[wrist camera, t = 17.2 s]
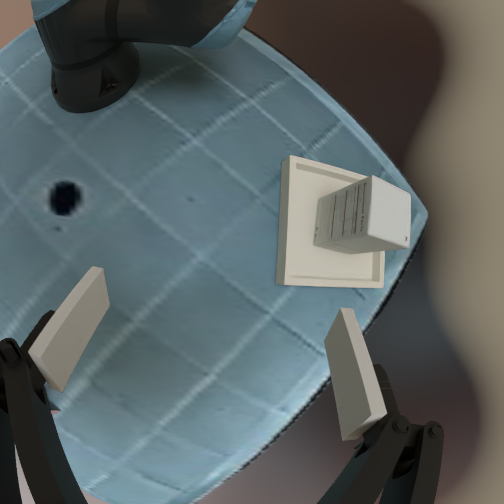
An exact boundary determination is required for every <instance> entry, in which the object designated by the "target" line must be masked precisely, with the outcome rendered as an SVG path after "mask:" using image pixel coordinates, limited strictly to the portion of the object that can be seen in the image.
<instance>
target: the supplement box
mask: <svg viewBox="0 0 504 504" xmlns="http://www.w3.org/2000/svg"><path fill="white" fill-rule="evenodd" d="M410 218H411V197H410V194H409V193H407V192H405V191H403V190H401V189H399V188H398V187H396V186H394V185H392V184H390V183H388V182H386V181H384V180H382V179H380V178H377V177H375V176H373V175H371V176H369V177H367V178H364V179H362V180H360V181H358V182H355V183H353V184H351V185H349V186H346V187H344V188H342V189H340V190H338V191H335V192H333V193H331V194H329V195H327V196H324V197H322V198H320V199H319V201H318V208H317V217H316V224H315V232H314V240H313V245H314V246H318V247H321V248H325V249H329V250H334V251H338V252H342V253H346V254H350V255H351V254H360V253H370V252H380V251H389V250H399V249H408V248H409V242H410Z"/></svg>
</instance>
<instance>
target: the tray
mask: <svg viewBox="0 0 504 504" xmlns="http://www.w3.org/2000/svg"><path fill="white" fill-rule="evenodd" d="M364 178H367V176H363V175H360V174H357V173H354V172H351V171H347V170H344V169H341V168H337V167H334V166H330V165H327V164H323V163H320V162H316V161H312V160H308V159H304V158H300V157H296V156H292V155H290V156H288V157H287V158H286V159H285V160H284V161H283V162H282V167H281V192H280V213H279V233H278V251H277V267H276V282H275V284H281V285H298V286H323V287H356V288H383V283H384V259H385V251H380V252H370V253H360V254H351V255H350V254H346V253H342V252H338V251H334V250H329V249H325V248H321V247H318V246H314V245H313V240H314V232H315V224H316V217H317V208H318V201H319V199H320V198H322V197H324V196H327V195H329V194H331V193H333V192H335V191H338V190H340V189H342V188H344V187H346V186H349V185H351V184H353V183H355V182H358V181H360V180H362V179H364Z"/></svg>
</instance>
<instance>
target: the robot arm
mask: <svg viewBox="0 0 504 504" xmlns="http://www.w3.org/2000/svg"><path fill="white" fill-rule="evenodd" d="M256 2H257V0H31V5H32V9H33V14H34V15H33V19H34V21H35V23H36V26H37V29H38V32H39V34H40V37H41V39H42V42H43V44H44V47H45V49H46V52H47V54H48V56H49V58H50V61H51V63H52V74H51V89H52V93H53V96H54V98H55V100H56V101H57V103H58V105H59V106H60V107H62V108H63V109H65V110H67V111H70V112H75V113H84V112H90V111H94V110H98V109H101V108H103V107H105V106H107V105H109V104H111V103H113V102H115V101H116V100H118V99H119V98H120V97H122V96H123V95H124V94H125V93H126V92H127V91H128V90H129V89H130V88H131V87H132V86H133V84H134V83H135V81H136V79H137V77H138V74H139V70H140V63H139V55H138V52H137V50H136V48H135V47H134V45H133V43H132V42H145V43H158V44H169V45H177V46H185V47H188V48H196V47H199V48H208V49H220V48H224V47H226V46H227V45H229V44H230V43H231V42H232V41H233V40H234V39H235V37H236V36H237V35H238V33H239V32H240V30H241V29H242V27H243V26H244V24H245V23H246V21H247V19H248V17H249V15H250V14H251V12H252V7H253V6H254V5H255V3H256ZM109 307H110V304H109V299H108V293H107V288H106V282H105V276H104V270H103V268H99V267H94V266H92V267H91V268H90V269H89V270H88V272H87V273H86V274H85V275H84V276H83V278H82V279H81V280H80V281H79V282H78V284H77V285H76V286H75V287H74V289H73V290H72V291H71V292H70V294H69V295H68V296H67V298H66V299H65V300H64V301H63V303H62V304H61V305H60V307H59V308H58V309H57V311H56V312H55V311H52V310H50V311H49V312H47V313H46V314H44V315H43V316H42V318H41V319H40V320H39V322H38V324H36V326H35V327H34V330H32V331H31V333H30V334H29V336H28V337H27V339H26V340H25V341H24V343H23V344H22V346H21V347H19V346H18V344H17V342H16V341H15V340H14V339H12V338H5V339H3V340H1V341H0V504H22V499H21V494H20V489H19V483H18V476H17V468H16V458H15V445H16V449H17V453H18V456H19V460H20V463H21V466H22V469H23V472H24V475H25V478H26V481H27V484H28V486H29V489H30V492H31V494H32V497H33V499H34V501H35V504H88V503H87V501H86V499H85V497H84V496H83V494H82V492H81V490H80V487H79V485H78V483H77V481H76V479H75V477H74V475H73V472H72V470H71V468H70V465H69V463H68V460H67V458H66V455H65V453H64V450H63V447H62V445H61V442H60V439H59V436H58V433H57V430H56V427H55V424H54V420H53V417H52V413H51V410H50V406H49V402H48V398H47V394H46V389H45V387H44V384H45V382H47V383H48V384H49V386H50V387H51V388H53V389H55V390H57V391H59V392H61V393H62V392H63V390H64V388H65V386H66V384H67V382H68V380H69V378H70V376H71V374H72V372H73V370H74V368H75V366H76V364H77V363H78V361H79V359H80V357H81V355H82V353H83V351H84V350H85V348H86V346H87V344H88V342H89V341H90V339H91V337H92V335H93V334H94V332H95V330H96V328H97V327H98V325H99V323H100V322H101V320H102V318H103V316H104V315H105V313H106V312H107V310H108V308H109ZM324 344H325V349H326V353H327V358H328V363H329V368H330V373H331V378H332V383H333V388H334V393H335V399H336V404H337V410H338V416H339V422H340V428H341V434H342V440H343V441H344V440H354V439H358V438H359V437H360V436H361V435H363V438H364V440H363V441H362V442H360V443H359V444H358V445H357V446H356V447H355V448H354V449H357V448H358V449H357V450H356V452H355V453H354V455H353V456H352V458H351V459H350V461H349V462H348V464H347V465H346V466H345V468H344V469H343V471H342V472H341V473H340V475H339V476H338V478H337V479H336V480H335V482H334V483H333V484H332V486H331V487H330V488H329V490H328V491H327V492H326V493H325V495H324V496H323V497H322V498H321V499H320V500H319V502H318V503H317V504H374V502H375V501H376V499H377V498H378V496H379V494H380V493H381V491H382V489H383V487H384V489H383V492H382V496H381V499H380V502H379V504H434V500H435V496H436V491H437V486H438V479H439V473H440V467H441V459H442V450H443V439H444V431H443V428H442V426H441V425H440V424H439V423H438V422H436V421H430V422H428V423H426V424H425V425H424V426H422V425H416V424H411V423H410V422H409V421H408V419H407V418H405V417H404V416H401V415H400V413H399V410H398V407H397V404H396V401H395V398H394V395H393V391H392V389H391V385H390V383H389V379H388V377H387V374H386V372H385V370H384V369H383V368H382V366H381V365H380V364H374V365H373V364H372V362H371V359H370V356H369V353H368V350H367V348H366V344H365V341H364V339H363V336H362V333H361V330H360V327H359V325H358V322H357V319H356V317H355V314H354V311H353V309H349V308H340V309H339V312H338V314H337V316H336V318H335V320H334V322H333V324H332V326H331V328H330V330H329V332H328V334H327V336H326V338H325V340H324ZM14 441H15V442H14Z"/></svg>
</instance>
